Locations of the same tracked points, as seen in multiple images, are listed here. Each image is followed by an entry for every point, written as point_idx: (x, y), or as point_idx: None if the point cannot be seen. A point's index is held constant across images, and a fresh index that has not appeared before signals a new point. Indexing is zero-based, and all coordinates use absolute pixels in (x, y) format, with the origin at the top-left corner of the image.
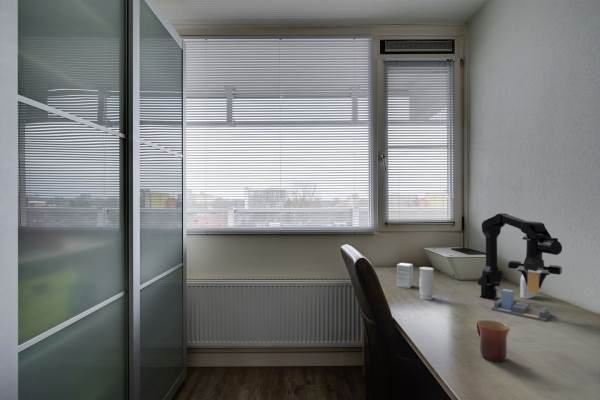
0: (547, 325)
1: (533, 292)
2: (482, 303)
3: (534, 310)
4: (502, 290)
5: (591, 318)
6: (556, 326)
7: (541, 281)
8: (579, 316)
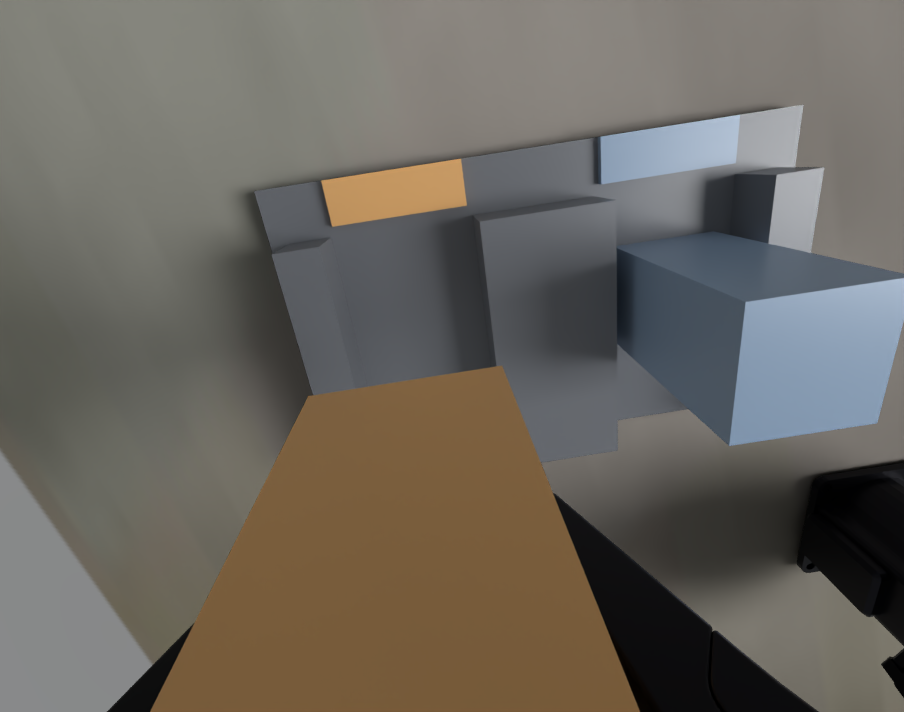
0: (179, 54)
1: (394, 384)
2: None
3: None
4: (897, 278)
5: (127, 602)
6: (116, 110)
7: (146, 701)
8: (195, 583)
